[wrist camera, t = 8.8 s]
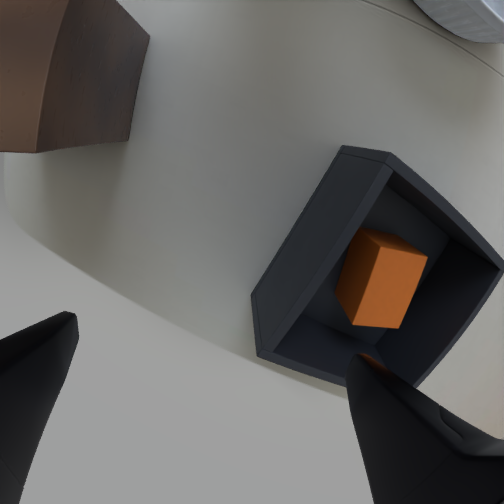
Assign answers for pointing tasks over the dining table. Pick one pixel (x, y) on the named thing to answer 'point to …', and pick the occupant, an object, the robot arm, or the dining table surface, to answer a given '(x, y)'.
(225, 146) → the dining table surface
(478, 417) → the dining table surface
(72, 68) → the stand
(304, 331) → the open box
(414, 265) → the orange block
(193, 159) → the dining table surface
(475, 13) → the ramekin
